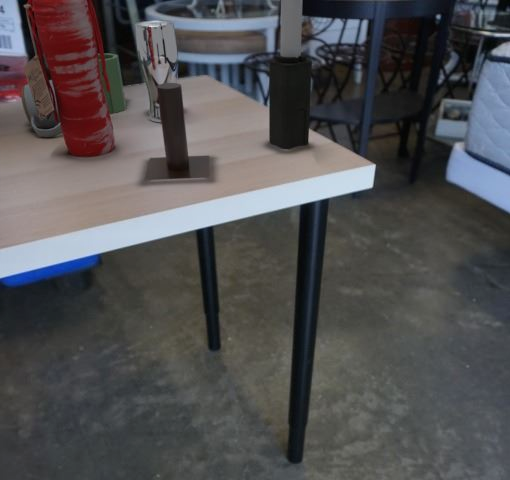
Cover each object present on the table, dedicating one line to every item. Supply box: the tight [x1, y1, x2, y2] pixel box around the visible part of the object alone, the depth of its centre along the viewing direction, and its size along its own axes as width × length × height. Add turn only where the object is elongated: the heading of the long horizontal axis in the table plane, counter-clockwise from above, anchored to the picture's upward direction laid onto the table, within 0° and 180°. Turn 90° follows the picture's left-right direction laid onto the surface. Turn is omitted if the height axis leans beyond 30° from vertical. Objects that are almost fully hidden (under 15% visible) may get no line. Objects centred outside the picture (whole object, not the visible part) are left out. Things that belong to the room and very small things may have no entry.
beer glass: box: [134, 19, 179, 123], centre depth 96 cm, size 7×7×15 cm
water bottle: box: [23, 0, 116, 158], centre depth 76 cm, size 12×8×25 cm, turn 98°
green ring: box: [98, 52, 127, 114], centre depth 103 cm, size 7×7×9 cm
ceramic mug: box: [20, 79, 63, 138], centre depth 94 cm, size 11×8×8 cm
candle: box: [268, 0, 313, 150], centre depth 77 cm, size 5×5×25 cm
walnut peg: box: [144, 83, 211, 181], centre depth 74 cm, size 9×9×12 cm
